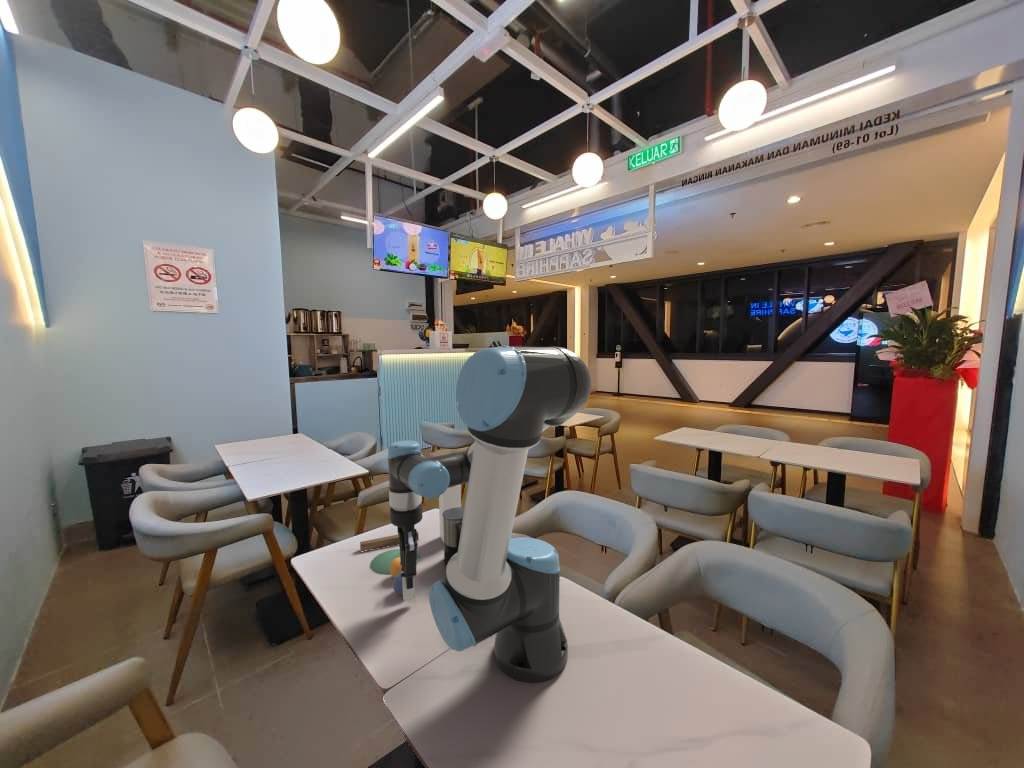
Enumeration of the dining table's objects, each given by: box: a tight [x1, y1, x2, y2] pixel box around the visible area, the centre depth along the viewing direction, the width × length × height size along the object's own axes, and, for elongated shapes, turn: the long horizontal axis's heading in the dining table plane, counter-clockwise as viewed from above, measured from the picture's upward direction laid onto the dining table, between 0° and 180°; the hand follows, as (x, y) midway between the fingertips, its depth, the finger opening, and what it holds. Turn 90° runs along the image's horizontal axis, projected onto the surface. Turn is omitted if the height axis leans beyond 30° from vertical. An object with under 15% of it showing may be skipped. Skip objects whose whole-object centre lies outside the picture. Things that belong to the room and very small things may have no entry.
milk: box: [438, 484, 462, 544], centre depth 131 cm, size 6×6×22 cm
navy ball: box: [392, 571, 404, 596], centre depth 102 cm, size 6×6×6 cm
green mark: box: [370, 548, 420, 575], centre depth 118 cm, size 14×14×1 cm
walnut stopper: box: [359, 530, 420, 552], centre depth 128 cm, size 2×18×2 cm, turn 115°
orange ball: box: [390, 557, 402, 579], centre depth 109 cm, size 6×6×6 cm
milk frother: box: [442, 506, 465, 567], centre depth 118 cm, size 14×16×15 cm
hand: (409, 597), depth 97 cm, fingers closed
